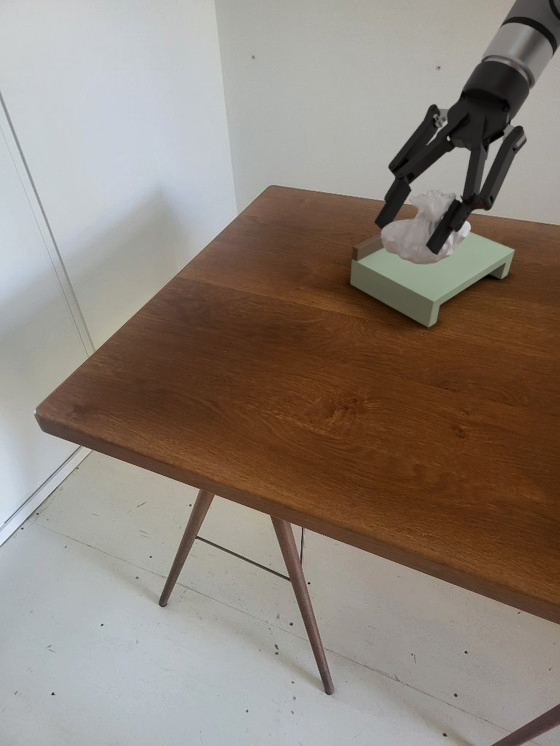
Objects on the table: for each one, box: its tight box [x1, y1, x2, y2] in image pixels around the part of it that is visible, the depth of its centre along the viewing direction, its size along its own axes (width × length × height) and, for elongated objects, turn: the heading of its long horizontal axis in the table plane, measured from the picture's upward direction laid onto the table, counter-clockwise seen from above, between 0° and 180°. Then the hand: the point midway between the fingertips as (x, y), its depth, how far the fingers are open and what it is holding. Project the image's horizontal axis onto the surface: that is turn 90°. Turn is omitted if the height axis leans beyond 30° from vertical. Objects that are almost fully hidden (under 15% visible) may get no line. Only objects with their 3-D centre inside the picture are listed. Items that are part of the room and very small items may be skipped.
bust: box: [380, 189, 472, 265], centre depth 69 cm, size 12×8×11 cm
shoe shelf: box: [350, 214, 516, 328], centre depth 89 cm, size 17×22×7 cm
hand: (405, 238), depth 69 cm, fingers closed on bust, 8 cm apart
